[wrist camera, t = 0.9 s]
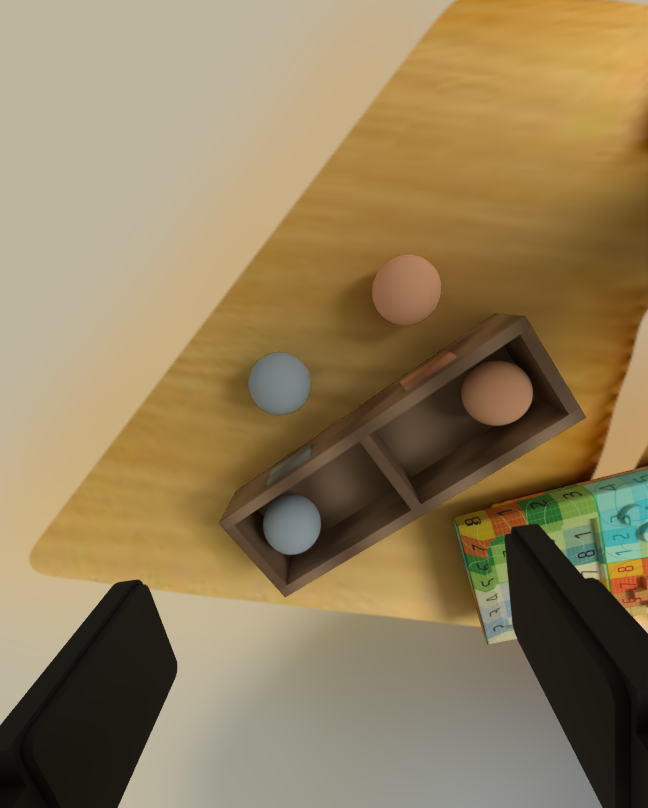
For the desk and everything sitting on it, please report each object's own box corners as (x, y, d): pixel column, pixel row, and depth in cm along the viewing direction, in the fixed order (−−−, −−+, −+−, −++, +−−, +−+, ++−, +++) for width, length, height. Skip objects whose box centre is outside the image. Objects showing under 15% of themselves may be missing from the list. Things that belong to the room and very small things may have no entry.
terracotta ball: (409, 244, 27) (423, 233, 23) (444, 298, 28) (463, 297, 24) (357, 284, 28) (360, 282, 24) (392, 335, 29) (401, 342, 25)
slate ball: (289, 336, 29) (280, 343, 25) (325, 383, 30) (322, 398, 26) (244, 371, 30) (227, 383, 26) (279, 416, 31) (269, 435, 27)
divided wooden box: (493, 311, 28) (523, 313, 24) (547, 399, 30) (586, 417, 25) (234, 490, 33) (216, 521, 28) (292, 557, 35) (285, 597, 30)
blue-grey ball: (300, 474, 32) (293, 502, 27) (332, 514, 33) (331, 548, 28) (258, 502, 33) (244, 534, 28) (290, 541, 33) (283, 577, 29)
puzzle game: (758, 600, 29) (491, 654, 31) (701, 559, 33) (472, 609, 36) (752, 462, 26) (460, 533, 28) (691, 438, 30) (444, 501, 33)
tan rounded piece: (495, 343, 28) (524, 351, 24) (526, 392, 29) (559, 409, 25) (441, 379, 29) (460, 393, 25) (473, 425, 30) (496, 447, 26)
